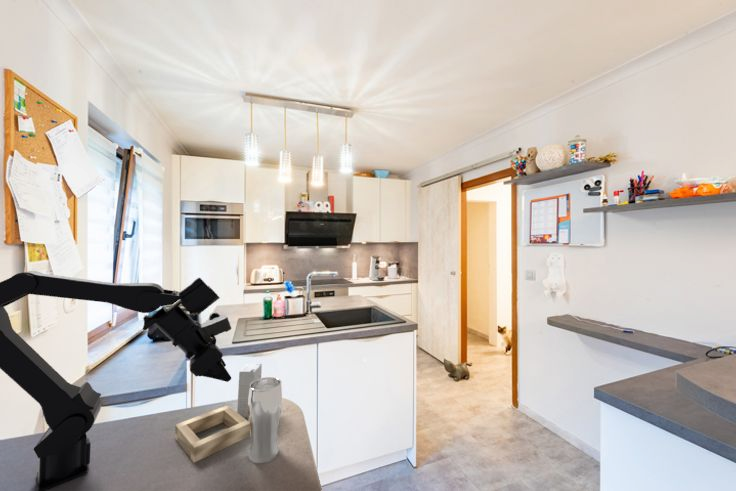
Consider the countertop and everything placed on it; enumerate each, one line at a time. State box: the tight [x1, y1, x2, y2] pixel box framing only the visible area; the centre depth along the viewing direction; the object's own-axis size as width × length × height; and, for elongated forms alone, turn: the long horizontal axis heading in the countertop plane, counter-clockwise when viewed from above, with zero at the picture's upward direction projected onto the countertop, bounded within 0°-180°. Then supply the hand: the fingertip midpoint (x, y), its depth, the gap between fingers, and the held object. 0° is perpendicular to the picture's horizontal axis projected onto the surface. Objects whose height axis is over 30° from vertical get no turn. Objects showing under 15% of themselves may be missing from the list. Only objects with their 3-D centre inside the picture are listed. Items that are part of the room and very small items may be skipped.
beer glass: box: [247, 376, 283, 464], centre depth 64 cm, size 7×7×15 cm
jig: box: [174, 405, 251, 463], centre depth 69 cm, size 12×12×3 cm
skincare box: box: [236, 362, 263, 419], centre depth 80 cm, size 6×4×12 cm
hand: (226, 372), depth 73 cm, fingers open, 9 cm apart
